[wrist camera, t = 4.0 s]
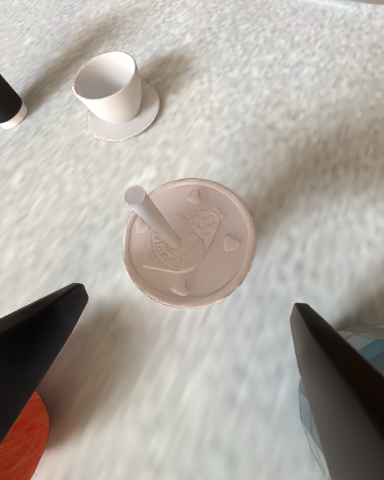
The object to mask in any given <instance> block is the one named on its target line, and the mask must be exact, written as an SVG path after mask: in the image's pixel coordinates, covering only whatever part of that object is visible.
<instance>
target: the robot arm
mask: <svg viewBox="0 0 384 480" xmlns="http://www.w3.org/2000/svg"><path fill="white" fill-rule="evenodd" d="M87 302H88V294H87V292H86V290H85V287H84V285H83V284H81V283H72V284H70V285H68V286H66V287H64V288H62V289H59V290H57V291H55V292H53V293H51V294H49V295H47V296H45V297H43V298H41V299H39V300H37V301H35V302H33V303H31V304H29V305H27V306H25V307H23V308H21V309H19V310H17V311H15V312H13V313H11V314H8V315H6V316H4V317H2V318H0V446H1V444H2V442H3V441H4V439H5V438H6V436H7V435H8V433H9V431H10V430H11V428H12V427H13V425H14V423H15V422H16V420H17V419H18V417H19V416H20V414H21V412H22V411H23V409H24V408H25V406H26V405H27V403H28V401H29V400H30V398H31V397H32V395H33V393H34V392H35V390H36V389H37V387H38V386H39V384H40V382H41V381H42V379H43V378H44V376H45V374H46V373H47V371H48V370H49V368H50V367H51V365H52V363H53V362H54V360H55V359H56V357H57V355H58V354H59V352H60V351H61V349H62V348H63V346H64V344H65V343H66V341H67V340H68V338H69V336H70V335H71V333H72V331H73V329H74V327H75V326H76V324H77V322H78V320H79V318H80V316H81V314H82V312H83V310H84V308H85V306H86V304H87ZM290 325H291V330H292V336H293V341H294V347H295V353H296V358H297V363H298V368H299V372H300V375H301V379H302V382H303V386H304V389H305V392H306V396H307V399H308V403H309V406H310V410H311V413H312V417H313V420H314V423H315V427H316V430H317V434H318V437H319V441H320V444H321V448H322V451H323V454H324V458H325V461H326V465H327V468H328V472H329V475H330V479H331V480H384V375H383V374H382V373H381V372H380V371H379V370H378V369H377V368H376V367H374V366H373V365H372V364H371V363H370V362H369V361H368V360H367V359H366V358H365V357H364V356H363V355H362V354H361V353H359V352H358V351H357V350H356V349H355V348H354V347H353V346H352V345H351V344H350V343H349V342H348V341H347V340H346V339H344V338H343V337H342V336H341V335H340V334H339V333H338V332H337V331H336V330H335V329H334V328H333V327H332V326H331V325H330V324H328V323H327V322H326V321H325V320H324V319H323V318H322V317H321V316H320V315H319V314H318V313H317V312H316V311H315V310H313V309H312V308H311V307H310V306H309V305H308V304H305V303H295V304H294V306H293V310H292V313H291V317H290Z"/></svg>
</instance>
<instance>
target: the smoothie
mask: <svg viewBox="0 0 384 480" xmlns="http://www.w3.org/2000/svg"><path fill="white" fill-rule="evenodd" d="M124 200H125V202H126V203H127V204H128V205H129V206H130V207H131V208H132V209H133V210H134V211H133V212H132V214H131V216H130V218H129V220H128V222H127V225H126V228H125V231H124V236H123V257H124V262H125V265H126V268H127V271H128V273H129V275H130V277H131V279H132V280H133V282H134V283H135V284H136V286H137V287H138V288H139V289H140V290H141V291H142V292H143V293H144V294H146V295H147V296H148V297H150V298H151V299H153V300H155V301H157V302H159V303H161V304H164V305H167V306H171V307H176V308H188V309H195V308H200V307H205V306H210V305H213V304H215V303H217V302H218V301H220V300H222V299H224V298H226V297H228V296H229V295H230V294H231V293H232V292H233V291H234V290H235V289H236V288H237V287H239V286H240V285H241V284H242V282H243V280H244V278H245V277H246V275H247V273H248V272H249V270H250V268H251V265H252V261H253V258H254V254H255V249H256V231H255V225H254V222H253V219H252V216H251V214H250V212H249V210H248V208H247V207H246V205H245V204H244V202H243V201H242V200H241V199H240V198H239V197H238V196H237V195H236V194H235V193H234V192H233V191H231V190H230V189H228V188H227V187H225V186H223V185H221V184H219V183H217V182H214V181H211V180H206V179H199V178H186V179H180V180H175V181H172V182H169V183H166V184H164V185H162V186H160V187H158V188H156V189H155V190H153V191H152V192H150V193H149V194H147V193H146V192H145V190H144V189H143V188H142V187H140V186H132V187H130V188H129V189H128V190H127V191H126V192H125V195H124Z"/></svg>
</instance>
